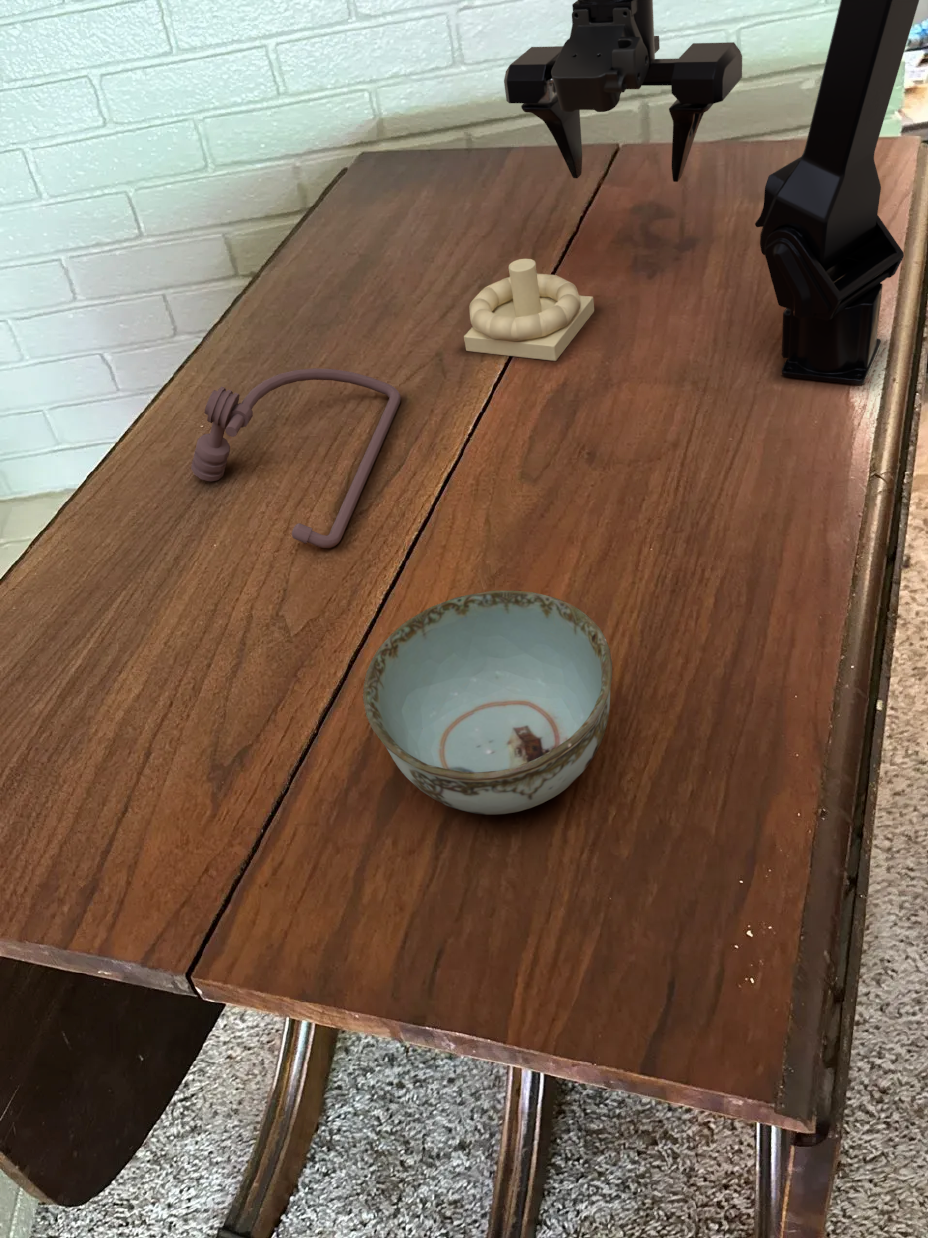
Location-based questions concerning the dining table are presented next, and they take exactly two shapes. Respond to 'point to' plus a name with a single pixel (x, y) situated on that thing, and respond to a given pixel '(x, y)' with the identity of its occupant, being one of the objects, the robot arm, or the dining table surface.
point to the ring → (524, 325)
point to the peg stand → (524, 305)
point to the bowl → (492, 699)
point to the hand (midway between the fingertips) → (626, 178)
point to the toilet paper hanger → (235, 416)
